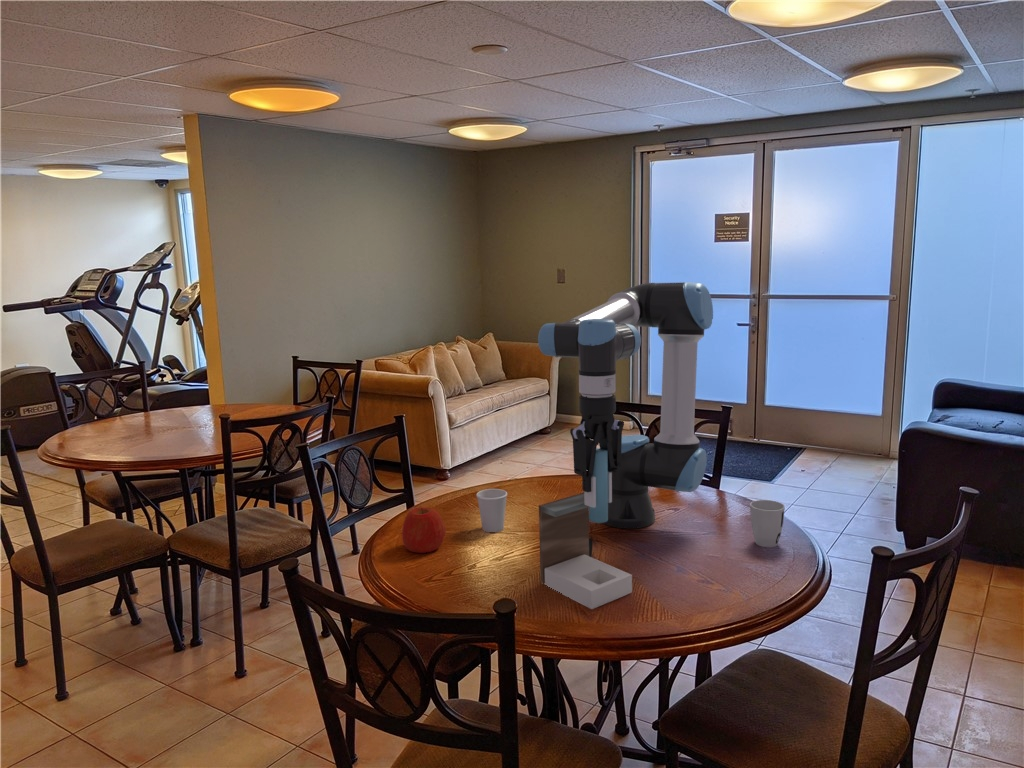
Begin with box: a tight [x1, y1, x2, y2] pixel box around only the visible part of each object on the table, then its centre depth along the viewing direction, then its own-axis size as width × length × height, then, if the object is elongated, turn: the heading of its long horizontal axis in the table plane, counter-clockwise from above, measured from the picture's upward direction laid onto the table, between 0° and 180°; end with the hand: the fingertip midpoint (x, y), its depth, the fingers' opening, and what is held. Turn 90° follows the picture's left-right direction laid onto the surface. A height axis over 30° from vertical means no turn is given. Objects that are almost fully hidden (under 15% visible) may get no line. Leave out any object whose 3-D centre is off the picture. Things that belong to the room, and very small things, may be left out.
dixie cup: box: [475, 488, 508, 533], centre depth 199 cm, size 8×8×10 cm
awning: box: [538, 492, 590, 585], centre depth 166 cm, size 6×14×18 cm, turn 128°
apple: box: [401, 506, 446, 554], centre depth 187 cm, size 11×11×11 cm
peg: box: [589, 447, 608, 524], centre depth 155 cm, size 4×4×15 cm
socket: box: [544, 554, 633, 610], centre depth 161 cm, size 15×12×4 cm
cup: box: [749, 499, 786, 548], centre depth 183 cm, size 8×8×10 cm
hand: (598, 503), depth 156 cm, fingers closed on peg, 4 cm apart
